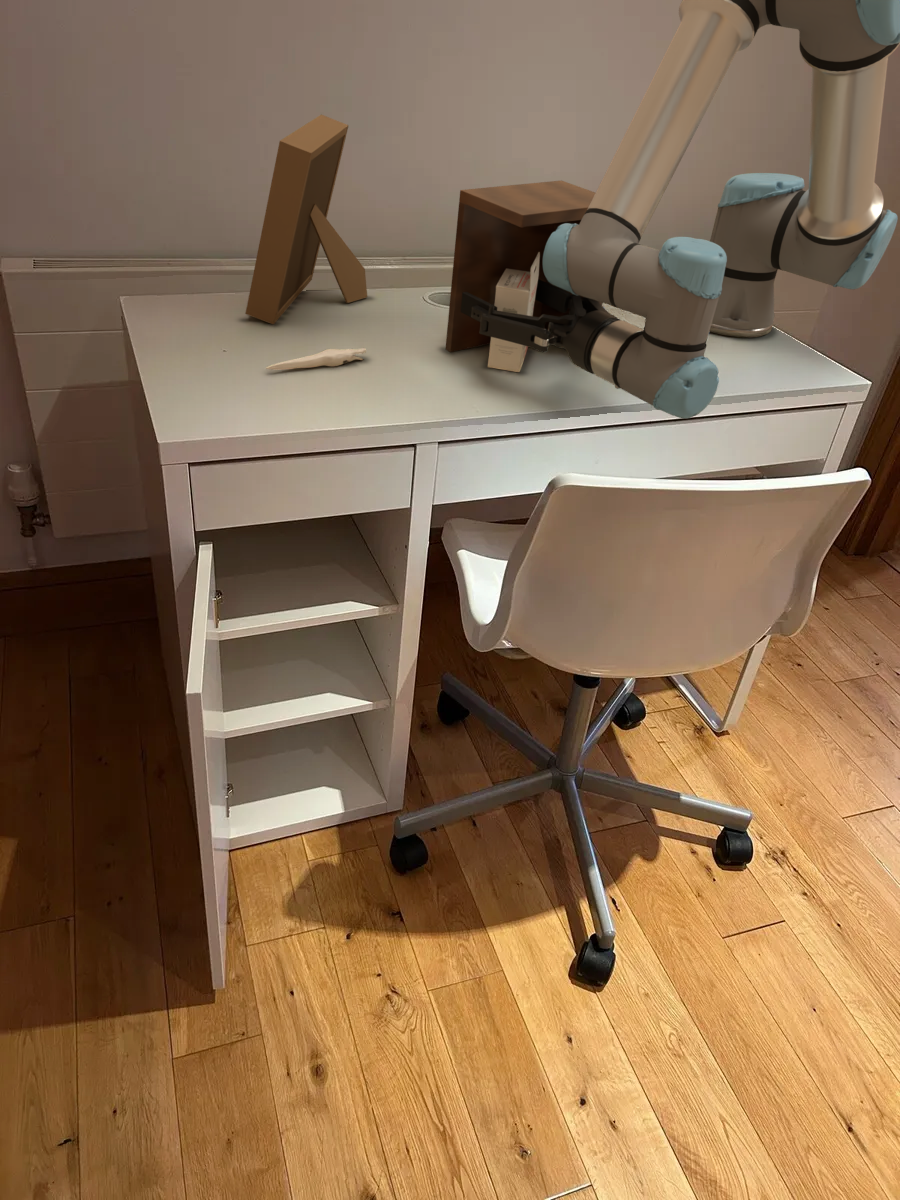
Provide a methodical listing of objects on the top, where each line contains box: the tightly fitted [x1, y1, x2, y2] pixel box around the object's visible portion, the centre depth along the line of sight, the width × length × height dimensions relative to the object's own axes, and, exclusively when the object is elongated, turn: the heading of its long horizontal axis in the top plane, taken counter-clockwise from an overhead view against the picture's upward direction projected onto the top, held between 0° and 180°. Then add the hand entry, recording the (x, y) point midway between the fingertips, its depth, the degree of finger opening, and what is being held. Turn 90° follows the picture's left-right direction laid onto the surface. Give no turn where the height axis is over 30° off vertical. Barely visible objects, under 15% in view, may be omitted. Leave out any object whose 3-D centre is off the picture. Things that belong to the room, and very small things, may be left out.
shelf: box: [445, 179, 604, 353], centre depth 130 cm, size 19×12×22 cm
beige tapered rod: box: [265, 347, 367, 371], centre depth 125 cm, size 15×3×2 cm, turn 123°
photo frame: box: [245, 113, 368, 325], centre depth 137 cm, size 15×22×25 cm
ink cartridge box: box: [487, 252, 540, 373], centre depth 129 cm, size 9×5×15 cm, turn 168°
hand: (500, 295), depth 131 cm, fingers open, 13 cm apart
